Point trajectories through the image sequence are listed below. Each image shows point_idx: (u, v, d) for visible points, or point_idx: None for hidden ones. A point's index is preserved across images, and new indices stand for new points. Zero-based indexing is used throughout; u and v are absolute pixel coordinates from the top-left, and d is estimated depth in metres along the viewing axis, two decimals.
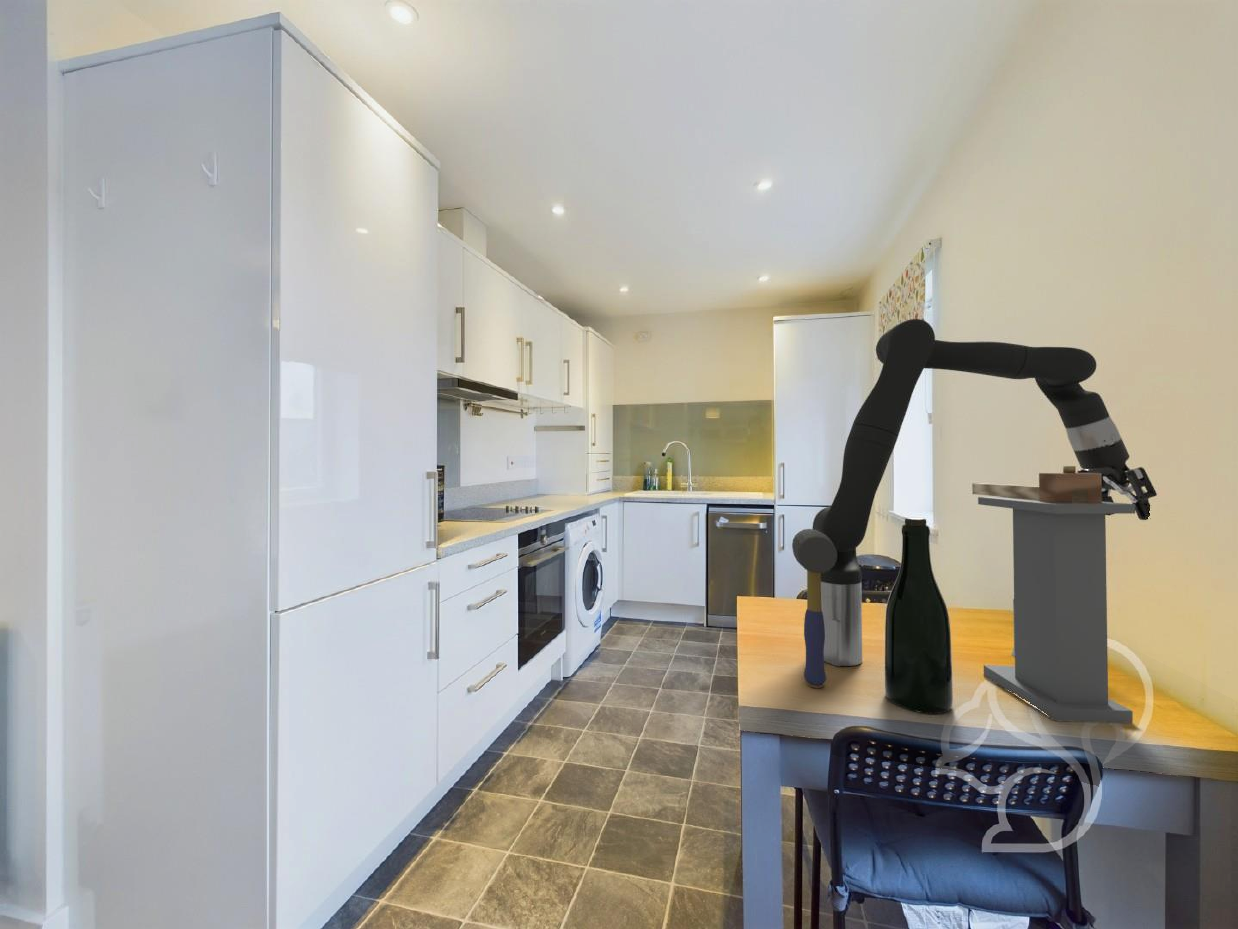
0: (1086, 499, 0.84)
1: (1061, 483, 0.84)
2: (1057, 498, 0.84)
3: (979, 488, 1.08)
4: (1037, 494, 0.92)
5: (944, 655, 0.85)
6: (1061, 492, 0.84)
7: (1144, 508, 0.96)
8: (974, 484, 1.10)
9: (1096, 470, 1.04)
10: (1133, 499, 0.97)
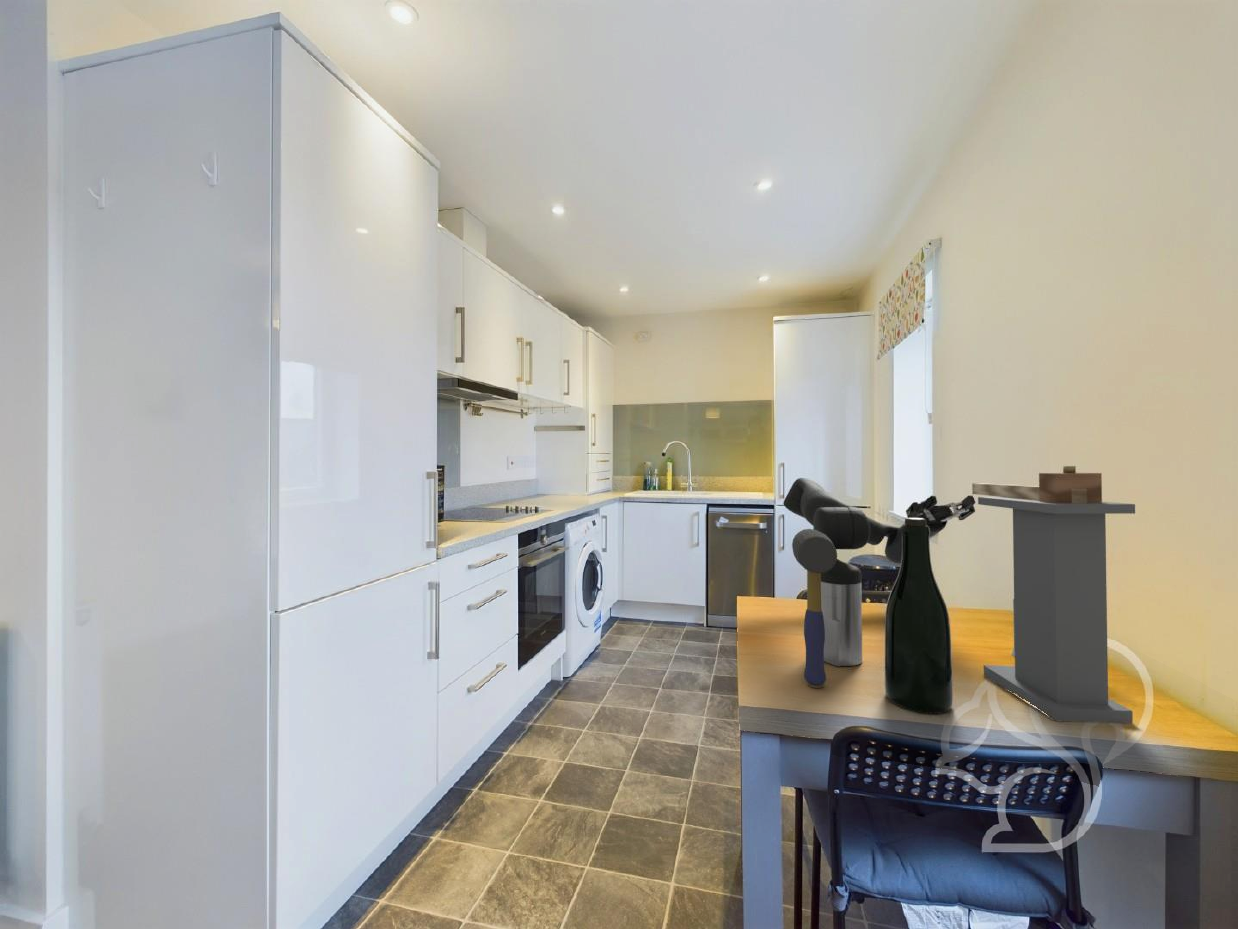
0: (1086, 499, 0.84)
1: (1061, 483, 0.84)
2: (1057, 498, 0.84)
3: (979, 488, 1.08)
4: (1037, 494, 0.92)
5: (944, 655, 0.85)
6: (1061, 492, 0.84)
7: (926, 504, 1.23)
8: (974, 484, 1.10)
9: (940, 520, 1.29)
10: (925, 511, 1.24)
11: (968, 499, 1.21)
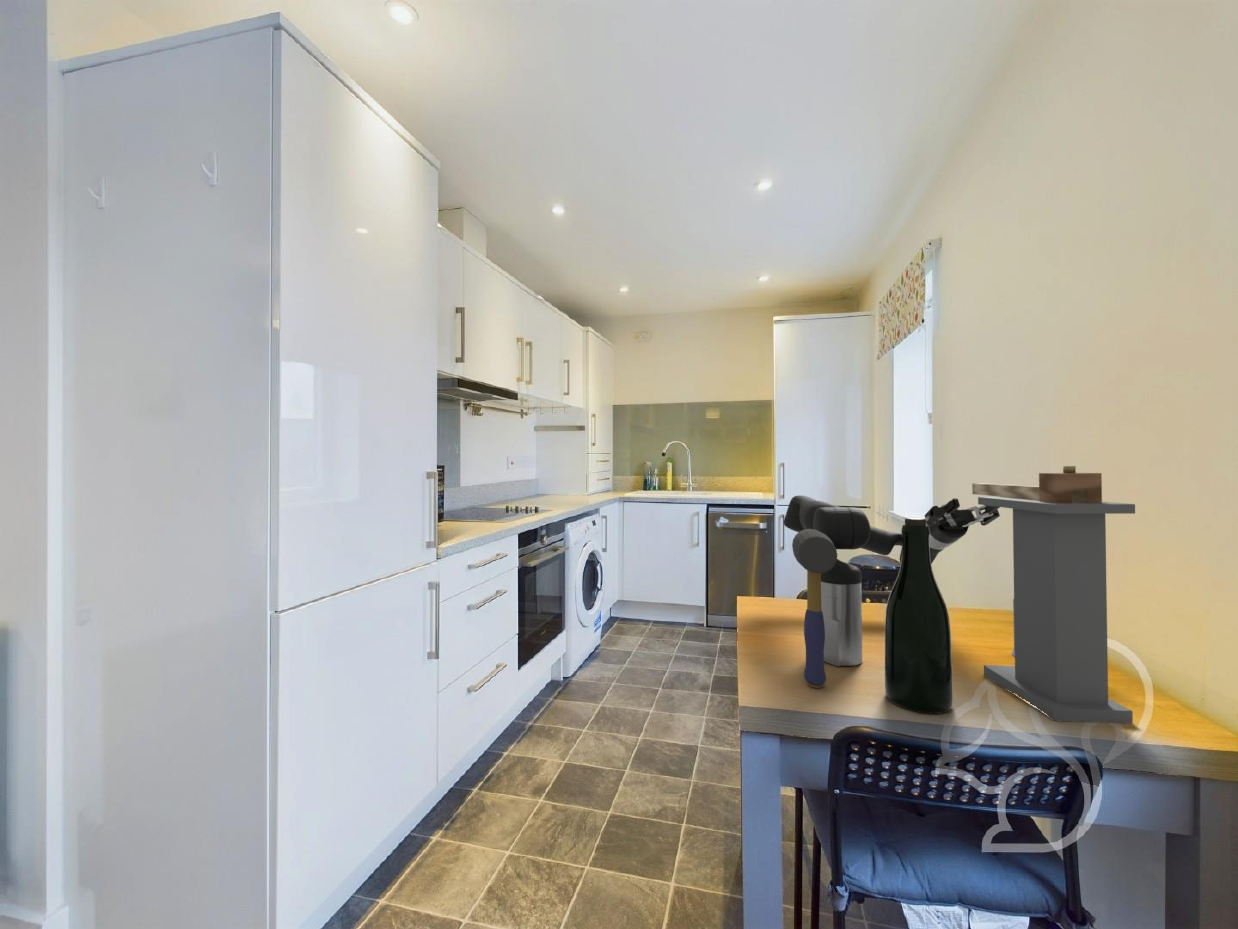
0: (1086, 499, 0.84)
1: (1061, 483, 0.84)
2: (1057, 498, 0.84)
3: (979, 488, 1.08)
4: (1037, 494, 0.92)
5: (944, 655, 0.85)
6: (1061, 492, 0.84)
7: (947, 508, 1.15)
8: (974, 484, 1.10)
9: (961, 525, 1.21)
10: (946, 515, 1.16)
11: None
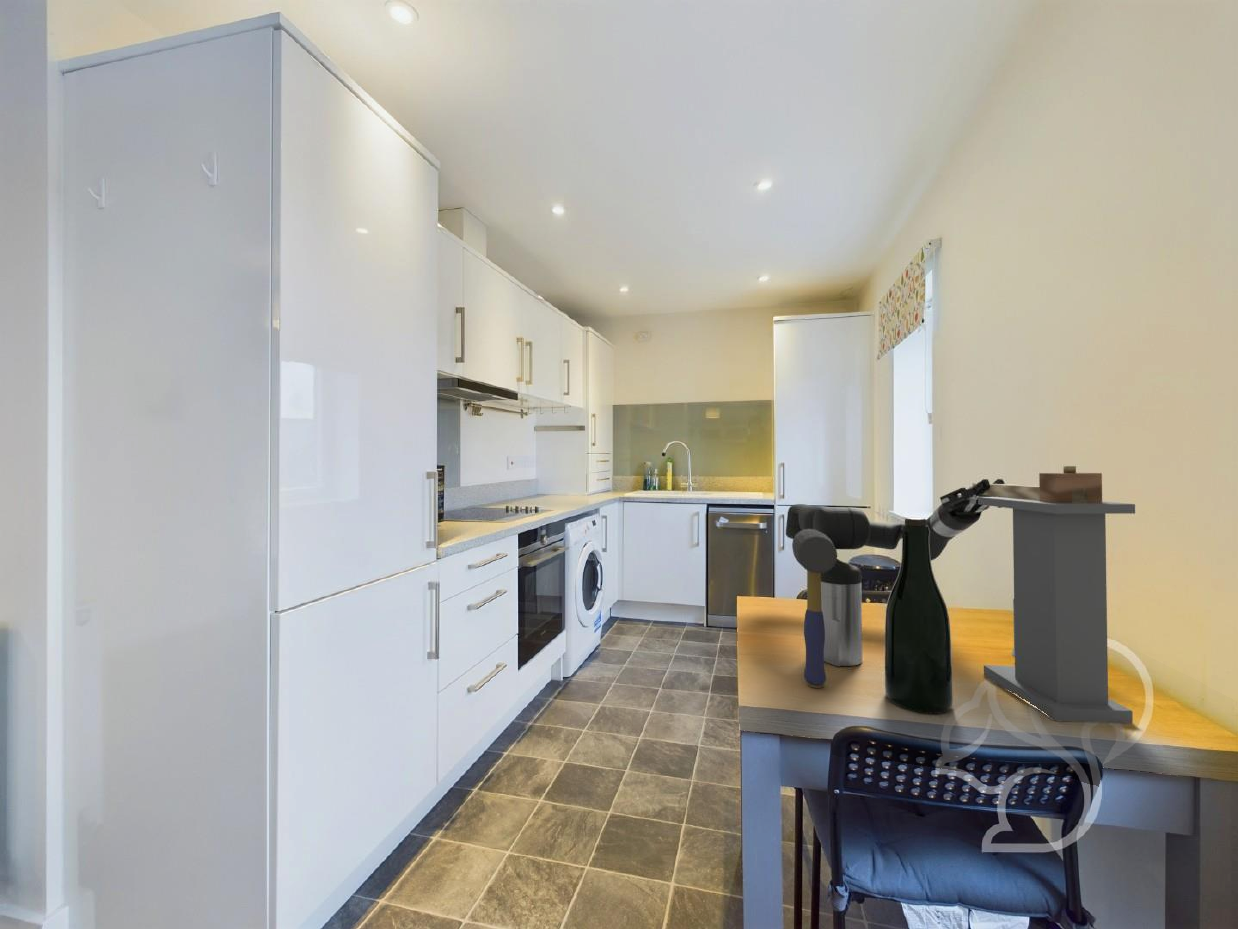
0: (1086, 499, 0.84)
1: (1061, 483, 0.84)
2: (1058, 498, 0.84)
3: None
4: (1037, 494, 0.92)
5: (944, 655, 0.85)
6: (1061, 492, 0.84)
7: (977, 489, 1.07)
8: (974, 484, 1.10)
9: (974, 510, 1.14)
10: (974, 497, 1.08)
11: (997, 483, 1.06)
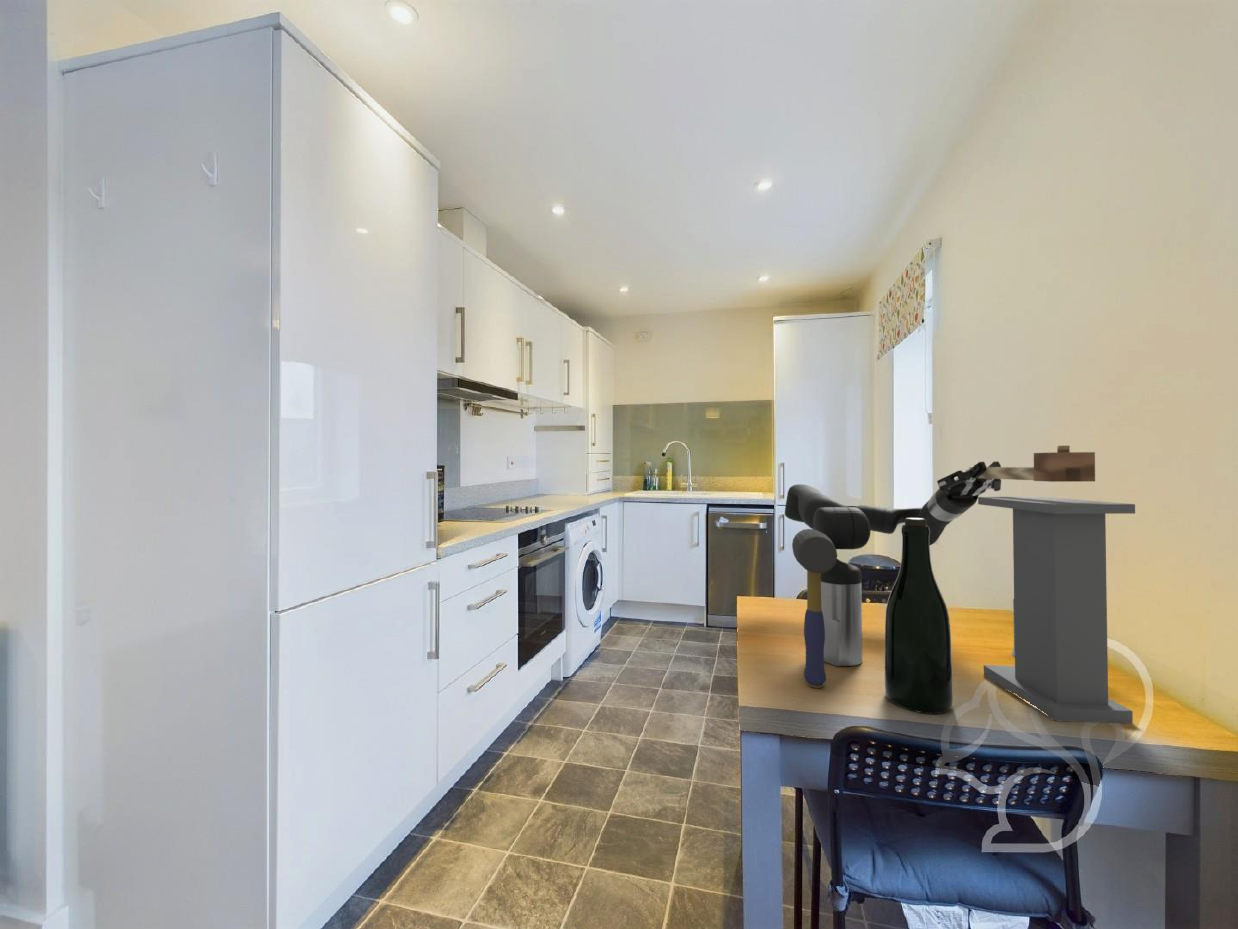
0: (1079, 478, 0.85)
1: (1055, 462, 0.85)
2: (1051, 477, 0.86)
3: None
4: (1032, 474, 0.93)
5: (944, 655, 0.85)
6: (1055, 471, 0.85)
7: (973, 472, 1.09)
8: None
9: (971, 494, 1.16)
10: (971, 480, 1.10)
11: (993, 466, 1.07)
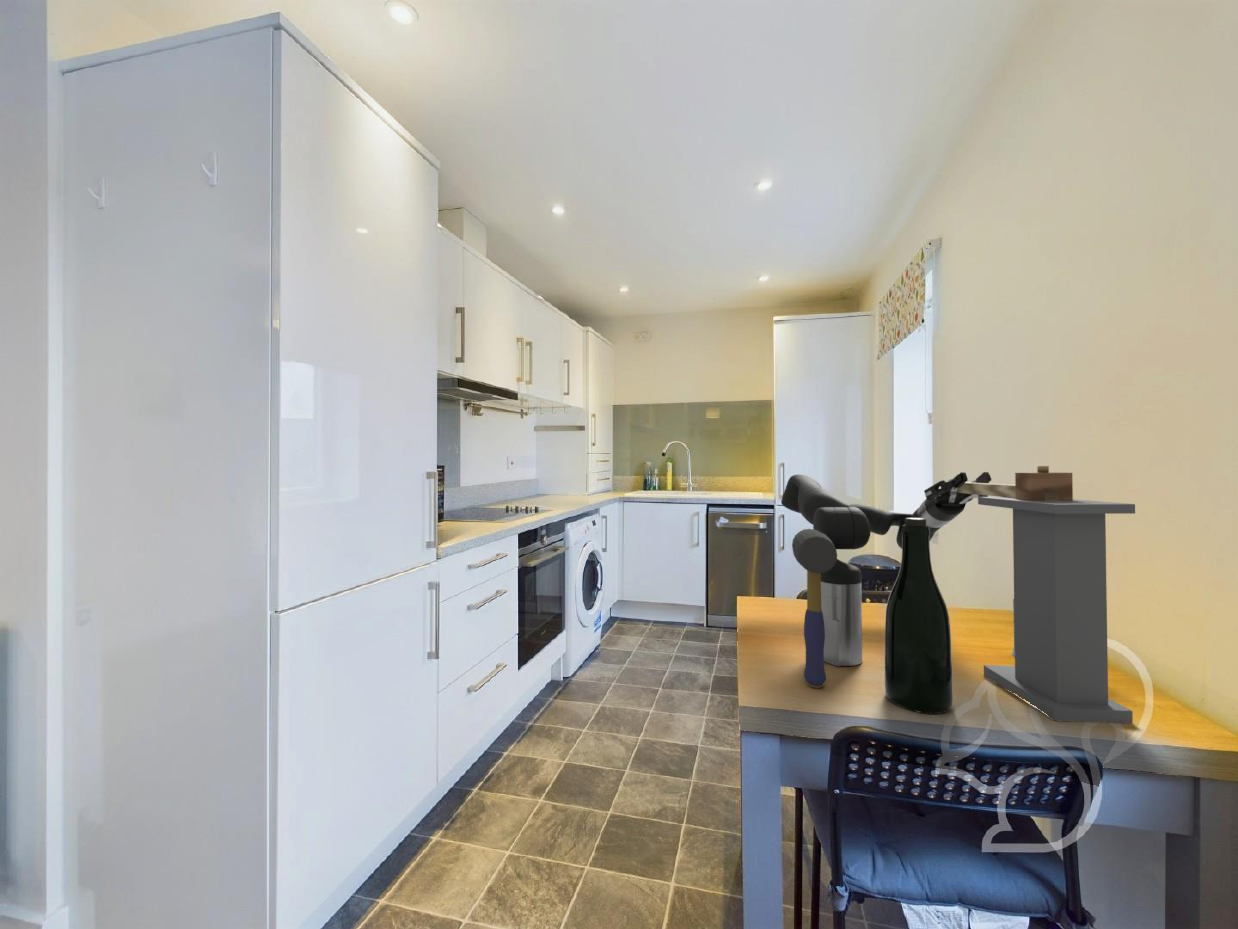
0: (1058, 497, 0.90)
1: (1034, 482, 0.90)
2: (1031, 496, 0.90)
3: (963, 487, 1.14)
4: (1014, 492, 0.98)
5: (944, 655, 0.85)
6: (1035, 490, 0.90)
7: (955, 482, 1.13)
8: None
9: (958, 502, 1.20)
10: (953, 489, 1.15)
11: (983, 476, 1.12)
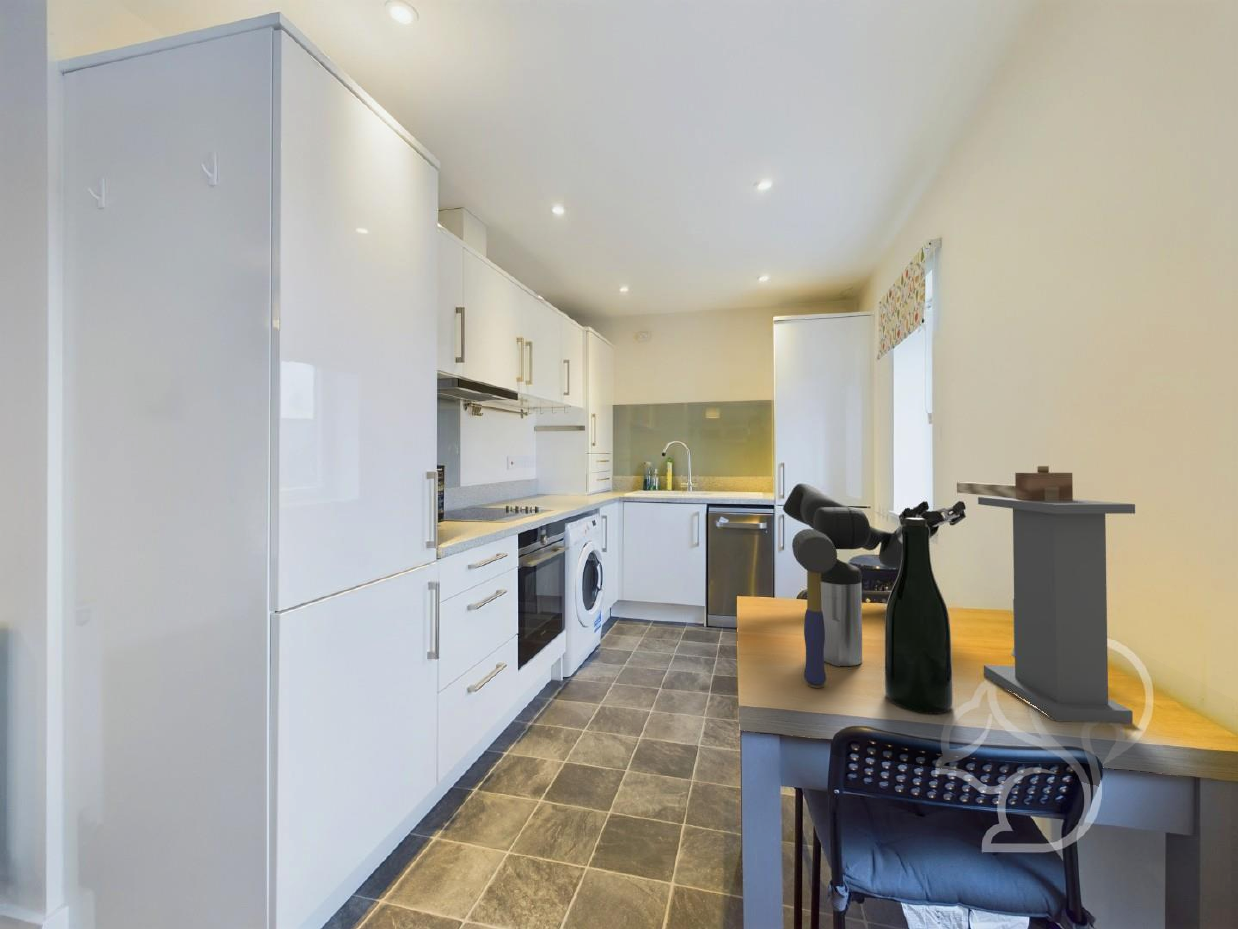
0: (1058, 497, 0.90)
1: (1034, 482, 0.90)
2: (1031, 496, 0.90)
3: (963, 487, 1.14)
4: (1014, 492, 0.98)
5: (944, 655, 0.85)
6: (1035, 490, 0.90)
7: (918, 510, 1.26)
8: (958, 483, 1.16)
9: (932, 525, 1.32)
10: (917, 516, 1.28)
11: (958, 505, 1.25)
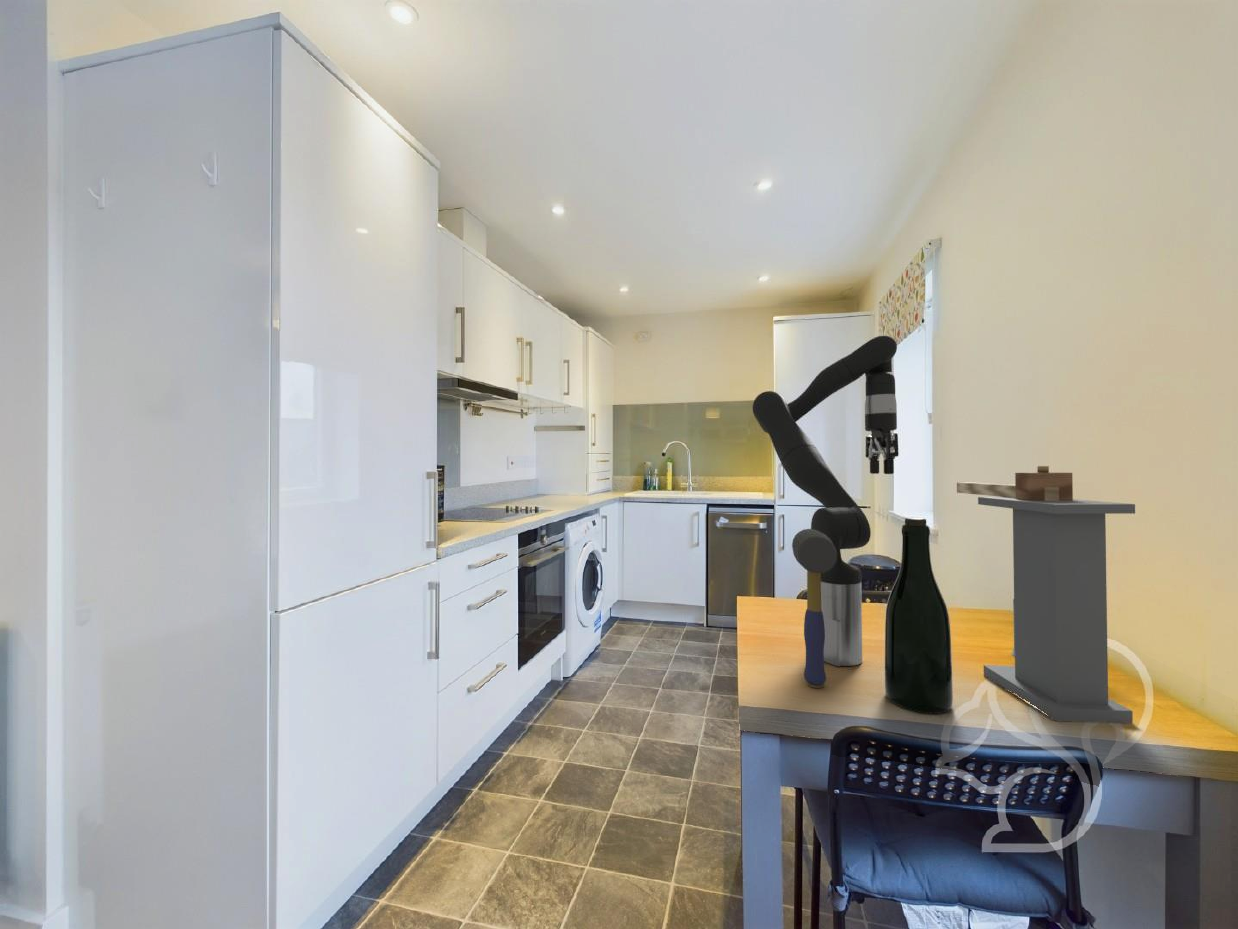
0: (1058, 497, 0.90)
1: (1034, 482, 0.90)
2: (1031, 496, 0.90)
3: (963, 487, 1.14)
4: (1014, 492, 0.98)
5: (944, 655, 0.85)
6: (1035, 490, 0.90)
7: None
8: (958, 483, 1.16)
9: None
10: None
11: None
